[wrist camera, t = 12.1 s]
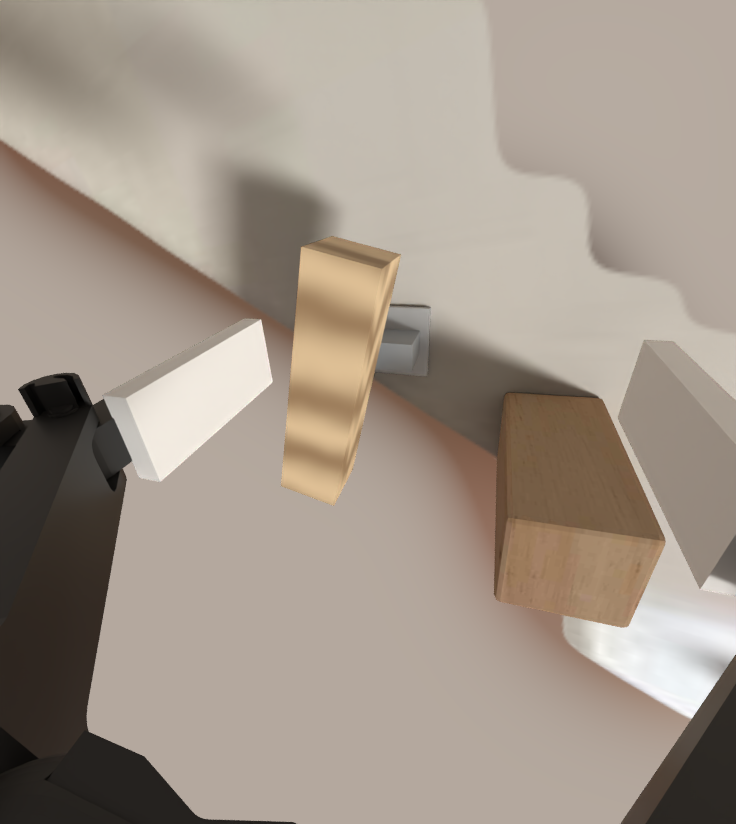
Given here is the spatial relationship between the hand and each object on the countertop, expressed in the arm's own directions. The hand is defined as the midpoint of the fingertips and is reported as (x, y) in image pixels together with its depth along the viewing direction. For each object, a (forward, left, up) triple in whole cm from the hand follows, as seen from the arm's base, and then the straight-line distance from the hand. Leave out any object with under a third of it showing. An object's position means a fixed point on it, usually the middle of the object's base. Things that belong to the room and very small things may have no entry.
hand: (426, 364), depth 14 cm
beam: (+10, -11, -20) cm, 25 cm away
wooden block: (+20, +10, -29) cm, 37 cm away
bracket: (+10, -11, -29) cm, 32 cm away
